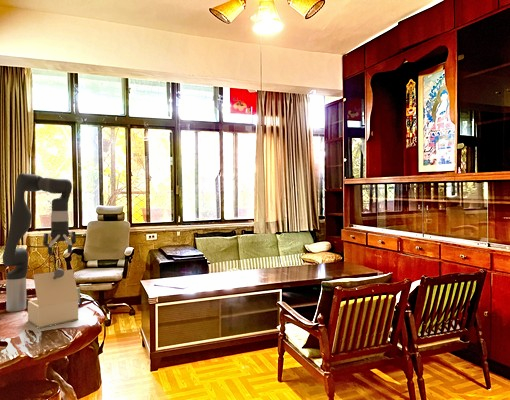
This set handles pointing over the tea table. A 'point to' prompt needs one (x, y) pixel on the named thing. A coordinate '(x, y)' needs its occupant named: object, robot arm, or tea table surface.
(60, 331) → the tea table surface
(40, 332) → the tea table surface
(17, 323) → the tea table surface
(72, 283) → the lid flap
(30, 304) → the carton
